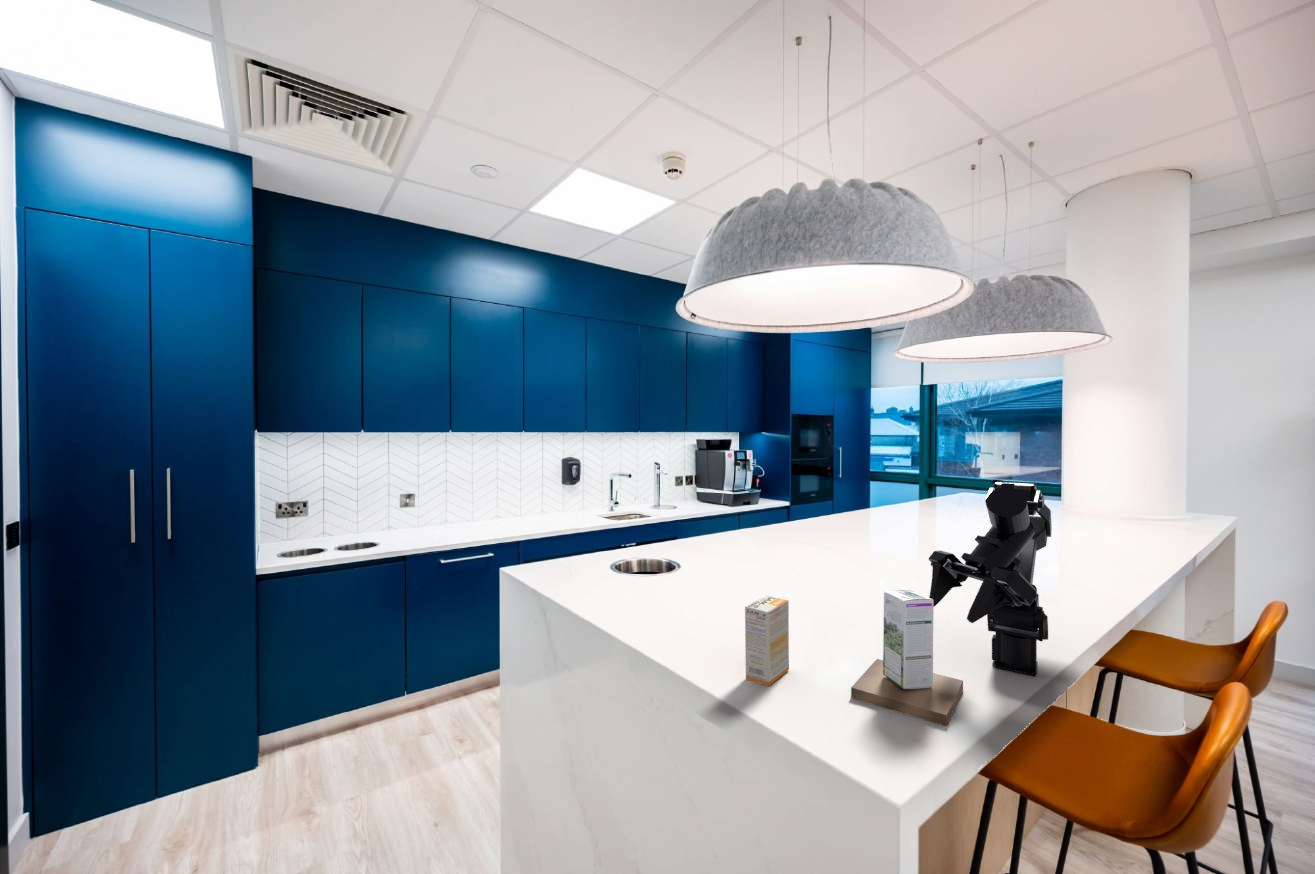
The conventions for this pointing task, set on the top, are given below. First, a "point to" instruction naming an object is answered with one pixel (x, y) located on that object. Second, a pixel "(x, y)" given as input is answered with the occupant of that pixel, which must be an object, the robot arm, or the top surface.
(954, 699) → the walnut block
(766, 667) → the supplement box
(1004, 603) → the robot arm
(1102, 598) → the top surface
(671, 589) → the top surface
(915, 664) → the syrup box
